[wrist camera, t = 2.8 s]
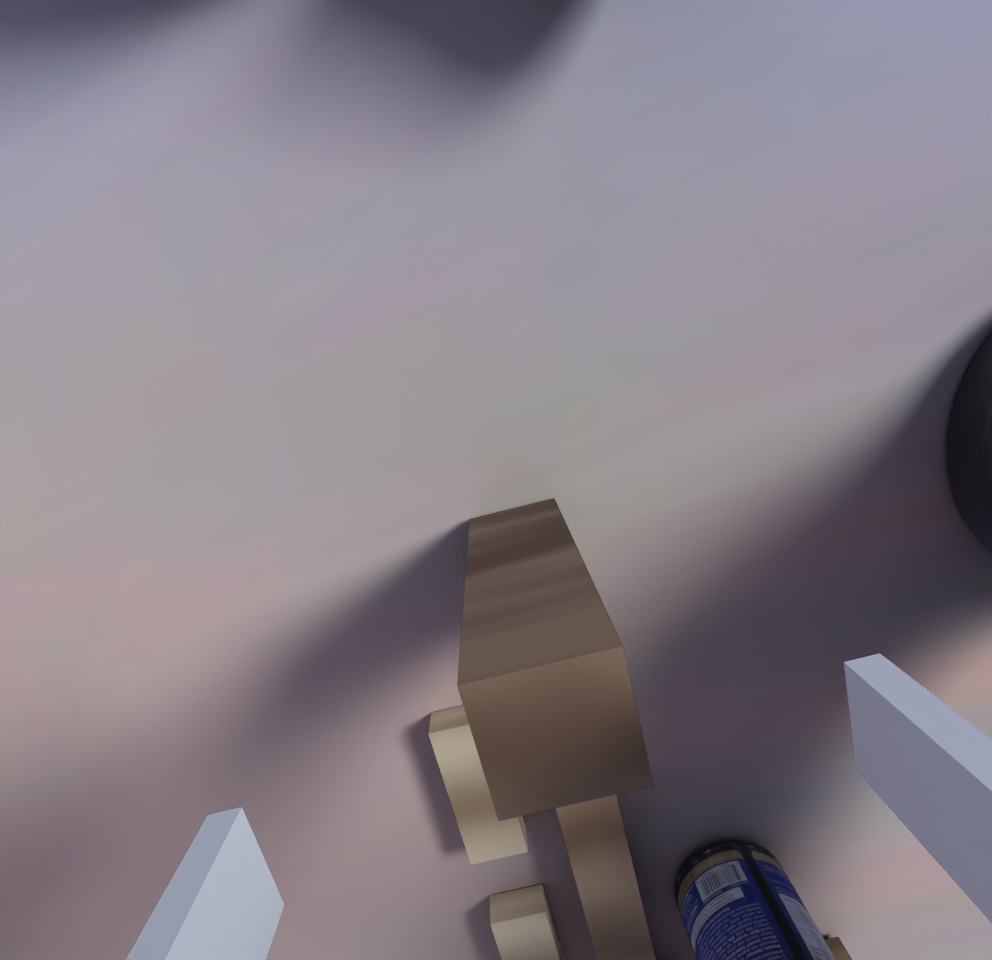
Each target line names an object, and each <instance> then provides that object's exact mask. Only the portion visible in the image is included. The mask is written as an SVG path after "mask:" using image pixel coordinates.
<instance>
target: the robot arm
mask: <svg viewBox="0 0 992 960" xmlns="http://www.w3.org/2000/svg"><path fill="white" fill-rule="evenodd" d="M947 465H948V473H949V479H950V484H951V488H952V492H953V495H954V498H955V501H956V503H957V506H958V508H959V510H960V512H961V514H962V516H963V518H964V520H965V521H966V523H967V524H968V526H969V527H970V529H971V530H972V531H973V533H974V534H975V535H976V536H977V537H978V538H979V539H980V541H981V542H982V543H984V544H985V545H986V546H987V547H988V548H989V549H990V550H992V332H991V334H990V335H989V336H988V338H987V339H986V340H985V342H984V343H983V345H982V346H981V348H980V349H979V351H978V353H977V354H976V356H975V358H974V359H973V361H972V363H971V365H970V367H969V369H968V371H967V373H966V375H965V377H964V379H963V381H962V384H961V386H960V389H959V391H958V394H957V397H956V400H955V403H954V407H953V411H952V415H951V420H950V425H949V431H948V440H947ZM844 669H845V678H846V687H847V695H848V704H849V713H850V722H851V730H852V739H853V748H854V757H855V766H856V771H857V772H858V773H859V774H860V775H861V776H862V777H863V779H864V780H865V781H866V782H867V783H868V784H869V785H870V786H871V788H872V789H873V790H874V791H875V792H876V793H877V794H878V795H879V797H880V798H881V799H882V800H883V801H884V802H885V803H886V804H887V806H888V807H889V808H890V809H891V810H892V811H893V812H894V813H895V815H896V816H897V817H898V818H899V819H900V820H901V821H902V822H903V824H904V825H905V826H906V827H907V828H908V829H909V830H910V832H911V833H912V834H913V835H914V836H915V837H916V838H917V839H918V841H919V842H920V843H921V844H922V845H923V846H924V847H925V848H926V850H927V851H928V852H929V853H930V854H931V855H932V856H933V857H934V859H935V860H936V861H937V862H938V863H939V864H940V865H941V866H942V868H943V869H944V870H945V871H946V872H947V873H948V874H949V876H950V877H951V878H952V879H953V880H954V881H955V882H956V883H957V885H958V886H959V887H960V888H961V889H962V890H963V891H964V892H965V894H966V895H967V896H968V897H969V898H970V899H971V900H972V901H973V903H974V904H975V905H976V906H977V907H978V908H979V909H980V910H981V912H982V913H983V914H984V915H985V916H986V917H987V918H988V919H989V921H990V922H991V923H992V740H991V739H990V738H989V737H988V736H986V735H985V734H984V733H982V732H981V731H980V730H979V729H977V728H976V727H975V726H973V725H972V724H971V723H969V722H968V721H967V720H966V719H964V718H963V717H962V716H960V715H959V714H958V713H957V712H955V711H954V710H953V709H951V708H950V707H949V706H947V705H946V704H945V703H944V702H942V701H941V700H940V699H938V698H937V697H936V696H935V695H933V694H932V693H931V692H929V691H928V690H927V689H925V688H924V687H923V686H922V685H920V684H919V683H918V682H916V681H915V680H914V679H913V678H911V677H910V676H909V675H907V674H906V673H905V672H903V671H902V670H901V669H900V668H898V667H897V666H896V665H894V664H893V663H892V662H890V661H889V660H888V659H887V658H885V657H884V656H883V655H881V654H880V653H879V654H875V655H871V656H867V657H863V658H858V659H854V660H850V661H846V662H844ZM283 908H284V902H283V900H282V898H281V896H280V893H279V891H278V889H277V886H276V884H275V882H274V880H273V877H272V875H271V873H270V870H269V868H268V866H267V864H266V861H265V859H264V857H263V854H262V852H261V850H260V848H259V845H258V843H257V841H256V838H255V836H254V834H253V832H252V829H251V827H250V825H249V822H248V820H247V818H246V816H245V813H244V811H243V809H242V807H240V808H236V809H232V810H227V811H223V812H219V813H215V814H211V815H208V816H207V817H206V819H205V821H204V823H203V824H202V826H201V828H200V830H199V831H198V833H197V835H196V837H195V839H194V840H193V842H192V844H191V846H190V847H189V849H188V851H187V853H186V854H185V856H184V858H183V860H182V861H181V863H180V865H179V867H178V869H177V870H176V872H175V874H174V876H173V877H172V879H171V881H170V883H169V884H168V886H167V888H166V890H165V892H164V893H163V895H162V897H161V899H160V900H159V902H158V904H157V906H156V907H155V909H154V911H153V913H152V914H151V916H150V918H149V920H148V922H147V923H146V925H145V927H144V929H143V930H142V932H141V934H140V936H139V937H138V939H137V941H136V943H135V944H134V946H133V948H132V950H131V952H130V953H129V955H128V957H127V959H126V960H266V958H267V955H268V952H269V949H270V946H271V943H272V940H273V937H274V934H275V931H276V929H277V926H278V923H279V920H280V917H281V914H282V911H283Z"/></svg>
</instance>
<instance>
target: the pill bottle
mask: <svg viewBox="0 0 992 960" xmlns="http://www.w3.org/2000/svg"><path fill="white" fill-rule="evenodd" d="M675 899H676V903H677V906H678V909H679V912H680V914H681V917H682V920H683V923H684V926H685V928H686V931H687V934H688V937H689V940H690V943H691V945H692V948H693V951H694V954H695V957H696V959H697V960H836V959H835V958H834V956H833V954H832V952H831V951H830V949H829V947H828V945H827V944H826V942H825V940H824V939H823V937H822V935H821V933H820V932H819V930H818V928H817V927H816V925H815V923H814V921H813V919H812V918H811V916H810V915H809V913H808V911H807V909H806V908H805V906H804V904H803V903H802V901H801V899H800V898H799V896H798V894H797V892H796V891H795V889H794V887H793V885H792V884H791V882H790V880H789V879H788V877H787V875H786V874H785V872H784V870H783V868H782V867H781V865H780V864H779V862H778V861H777V860H776V858H775V857H774V856H773V855H772V854H771V853H770V852H769V851H768V850H766V849H765V848H763V847H760V846H758V845H756V844H753V843H750V842H742V841H725V842H721V843H717V844H714V845H711V846H708V847H706V848H704V849H701V850H700V851H698V852H697V853H696V854H695V855H693V856H691V857H690V858H689V860H688V861H686V863H685V864H684V865H683V867H682V868H681V870H680V872H679V874H678V876H677V880H676V884H675Z"/></svg>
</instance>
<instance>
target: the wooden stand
mask: <svg viewBox="0 0 992 960" xmlns="http://www.w3.org/2000/svg"><path fill="white" fill-rule="evenodd" d="M457 686H458V690H459V693H460V696H461V700H462V703H463V706H464V709H465V713H466V716H467V719H468V723H469V726H470V729H471V732H472V736H473V739H474V742H475V746H476V749H477V752H478V755H479V759H480V762H481V765H482V769H483V772H484V775H485V778H486V782H487V785H488V788H489V792H490V795H491V798H492V801H493V805H494V808H495V811H496V815H497V818H498V821H503V820H507V819H511V818H516V817H520V816H524V815H529V814H533V813H537V812H542V811H546V810H551V809H555V808H556V812H557V815H558V819H559V823H560V826H561V830H562V834H563V837H564V841H565V845H566V848H567V852H568V856H569V859H570V863H571V867H572V870H573V874H574V878H575V881H576V885H577V889H578V892H579V896H580V900H581V903H582V907H583V911H584V914H585V918H586V922H587V925H588V929H589V933H590V936H591V940H592V944H593V947H594V951H595V955H596V958H597V960H656V958H655V954H654V950H653V946H652V942H651V938H650V933H649V929H648V925H647V921H646V917H645V913H644V908H643V904H642V900H641V896H640V892H639V888H638V884H637V879H636V875H635V871H634V867H633V863H632V859H631V854H630V850H629V846H628V842H627V838H626V834H625V829H624V825H623V821H622V817H621V813H620V809H619V805H618V800H617V796H616V794H620V793H625V792H629V791H634V790H638V789H642V788H647V787H651V786H654V785H653V780H652V776H651V771H650V767H649V762H648V758H647V753H646V749H645V744H644V740H643V735H642V731H641V726H640V721H639V717H638V712H637V708H636V703H635V699H634V694H633V690H632V685H631V681H630V676H629V672H628V667H627V662H626V658H625V653H624V649H623V645H622V643H621V641H620V639H619V637H618V635H617V632H616V630H615V628H614V626H613V624H612V622H611V619H610V617H609V615H608V613H607V611H606V609H605V607H604V604H603V602H602V600H601V598H600V596H599V594H598V591H597V589H596V587H595V585H594V583H593V581H592V579H591V576H590V574H589V572H588V570H587V568H586V566H585V563H584V561H583V559H582V557H581V555H580V553H579V551H578V548H577V546H576V544H575V542H574V540H573V538H572V535H571V533H570V531H569V529H568V527H567V525H566V523H565V520H564V518H563V516H562V514H561V512H560V510H559V507H558V505H557V503H556V501H555V499H554V498H553V499H549V500H545V501H541V502H537V503H533V504H529V505H525V506H521V507H517V508H513V509H509V510H505V511H501V512H497V513H493V514H489V515H485V516H481V517H477V518H473V519H469V532H468V546H467V560H466V573H465V587H464V601H463V614H462V628H461V642H460V655H459V669H458V683H457ZM825 942H826V944H827V945H828V947H829V949H830V951H831V952H832V954H833V956H834V958H835V959H836V960H852V959H851V957H850V955H849V954H848V952H847V950H846V949H845V947H844V945H843V944H842V942H841V940H840V939H839V937H835V938H830V939H826V940H825Z"/></svg>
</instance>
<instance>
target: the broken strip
mask: <svg viewBox="0 0 992 960" xmlns="http://www.w3.org/2000/svg"><path fill="white" fill-rule="evenodd" d="M428 735H429V738H430V741H431V744H432V747H433V750H434V753H435V756H436V759H437V762H438V765H439V768H440V772H441V775H442V778H443V781H444V784H445V787H446V790H447V793H448V796H449V799H450V802H451V805H452V808H453V812H454V815H455V818H456V821H457V824H458V827H459V830H460V833H461V836H462V839H463V842H464V845H465V848H466V851H467V855H468V858H469V861H470V864H471V865H473V864H477V863H482V862H486V861H491V860H495V859H499V858H504V857H508V856H513V855H517V854H522V853H526V852H528V848H527V836H526V826H525V822H524V819H523V816H520V817H516V818H511V819H507V820H503V821H498V818H497V815H496V811H495V808H494V805H493V801H492V798H491V795H490V792H489V788H488V785H487V782H486V778H485V775H484V772H483V769H482V765H481V762H480V759H479V755H478V752H477V749H476V746H475V742H474V739H473V736H472V732H471V729H470V726H469V723H468V719H467V716H466V713H465V709H464V706H463V705H462V706H458V707H454V708H449V709H445V710H441V711H437V712H433V713H431V718H430V725H429V732H428ZM490 925H491V928H492V931H493V934H494V937H495V941H496V944H497V947H498V950H499V953H500V956H501V959H502V960H564V956H563V953H562V950H561V946H560V943H559V939H558V936H557V932H556V929H555V926H554V922H553V919H552V915H551V912H550V908H549V905H548V901H547V898H546V895H545V891H544V888H543V884H540V885H535V886H531V887H526V888H522V889H517V890H513V891H508V892H504V893H499V894H495V895H490Z"/></svg>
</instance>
